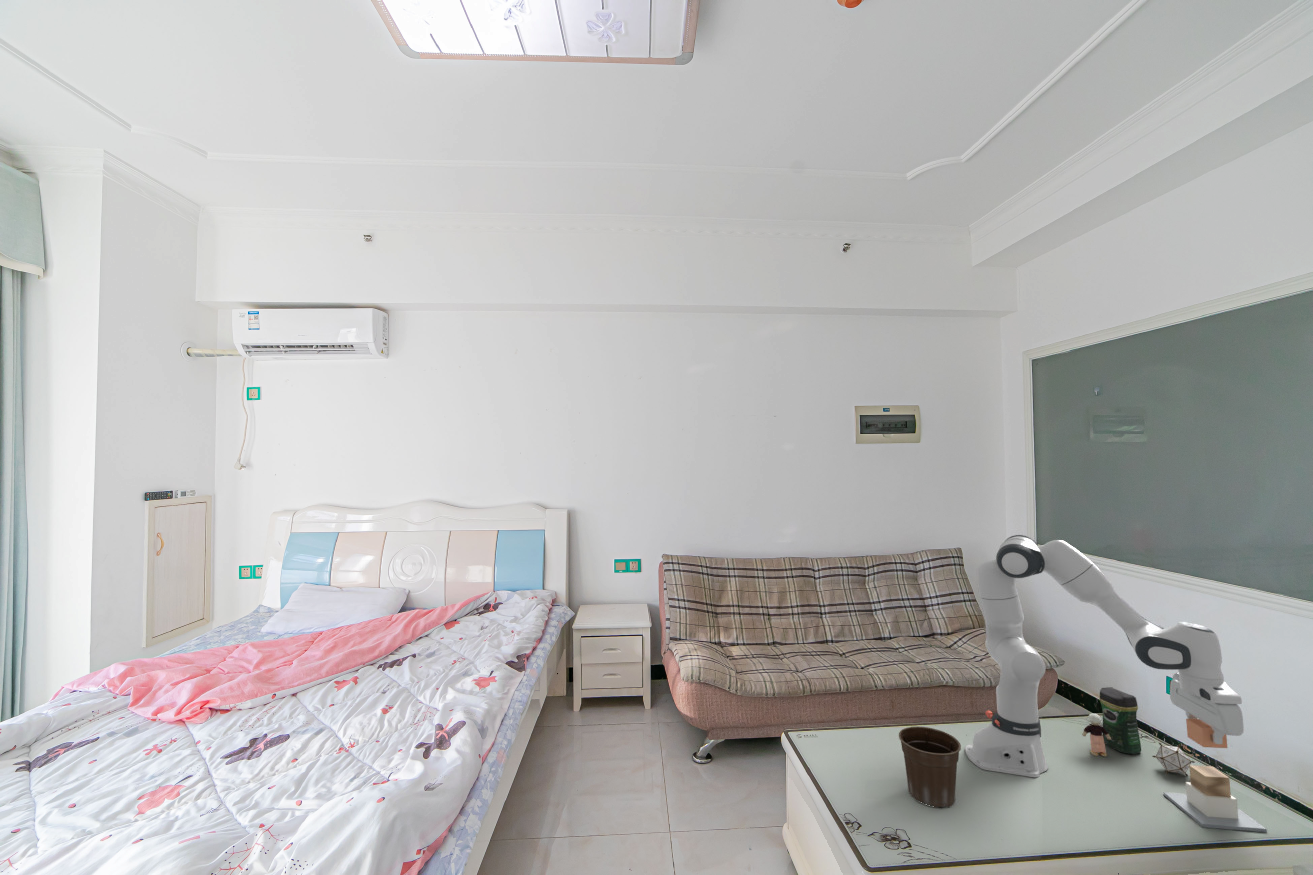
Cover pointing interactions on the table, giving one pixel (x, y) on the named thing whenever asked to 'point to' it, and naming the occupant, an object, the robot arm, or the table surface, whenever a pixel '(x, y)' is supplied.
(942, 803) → the plant pot
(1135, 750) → the coffee jar
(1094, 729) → the grandmother figurine
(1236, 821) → the baseplate
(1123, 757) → the table surface
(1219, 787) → the oak brick
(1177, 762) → the game die
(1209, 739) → the terracotta brick
